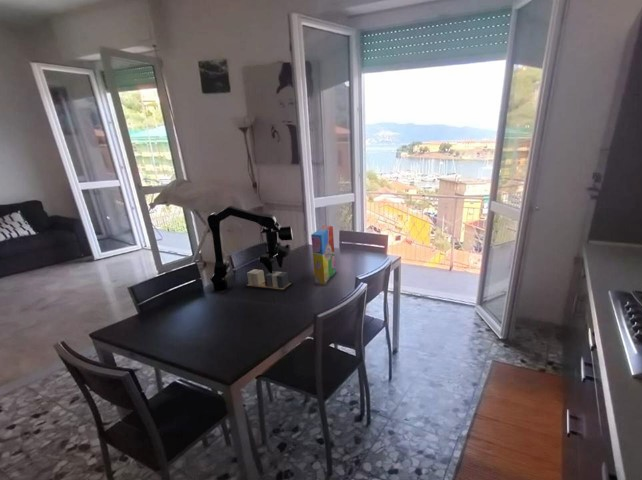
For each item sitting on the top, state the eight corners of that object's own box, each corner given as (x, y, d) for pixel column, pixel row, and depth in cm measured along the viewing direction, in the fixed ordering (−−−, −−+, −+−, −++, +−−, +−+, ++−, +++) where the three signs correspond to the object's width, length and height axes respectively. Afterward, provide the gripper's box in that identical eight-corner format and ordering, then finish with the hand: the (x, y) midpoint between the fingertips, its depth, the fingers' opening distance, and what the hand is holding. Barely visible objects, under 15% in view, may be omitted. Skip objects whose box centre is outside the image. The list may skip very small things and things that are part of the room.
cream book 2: (258, 285, 187) (256, 273, 185) (254, 284, 188) (252, 273, 185) (264, 281, 192) (263, 270, 190) (260, 280, 193) (258, 269, 190)
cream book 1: (253, 284, 188) (251, 273, 185) (248, 284, 189) (246, 272, 186) (259, 280, 193) (258, 269, 191) (255, 280, 194) (253, 269, 191)
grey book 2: (283, 288, 183) (281, 276, 180) (278, 287, 184) (276, 275, 181) (288, 283, 188) (287, 272, 186) (284, 283, 189) (282, 272, 186)
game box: (324, 285, 188) (320, 235, 177) (315, 285, 189) (310, 234, 178) (335, 272, 206) (332, 225, 195) (326, 271, 207) (323, 225, 196)
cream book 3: (277, 287, 184) (276, 275, 181) (272, 287, 185) (271, 275, 182) (283, 283, 189) (282, 271, 187) (278, 282, 190) (277, 271, 187)
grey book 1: (272, 286, 185) (270, 275, 182) (267, 286, 186) (265, 274, 183) (278, 282, 190) (276, 271, 187) (273, 282, 191) (272, 270, 188)
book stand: (283, 291, 182) (281, 280, 180) (246, 287, 188) (244, 276, 186) (291, 284, 190) (290, 274, 187) (256, 281, 196) (254, 270, 193)
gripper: (276, 247, 167) (280, 278, 173) (295, 237, 183) (298, 265, 189) (256, 245, 170) (260, 276, 176) (276, 235, 186) (280, 264, 193)
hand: (276, 270), depth 184 cm, fingers open, 9 cm apart
